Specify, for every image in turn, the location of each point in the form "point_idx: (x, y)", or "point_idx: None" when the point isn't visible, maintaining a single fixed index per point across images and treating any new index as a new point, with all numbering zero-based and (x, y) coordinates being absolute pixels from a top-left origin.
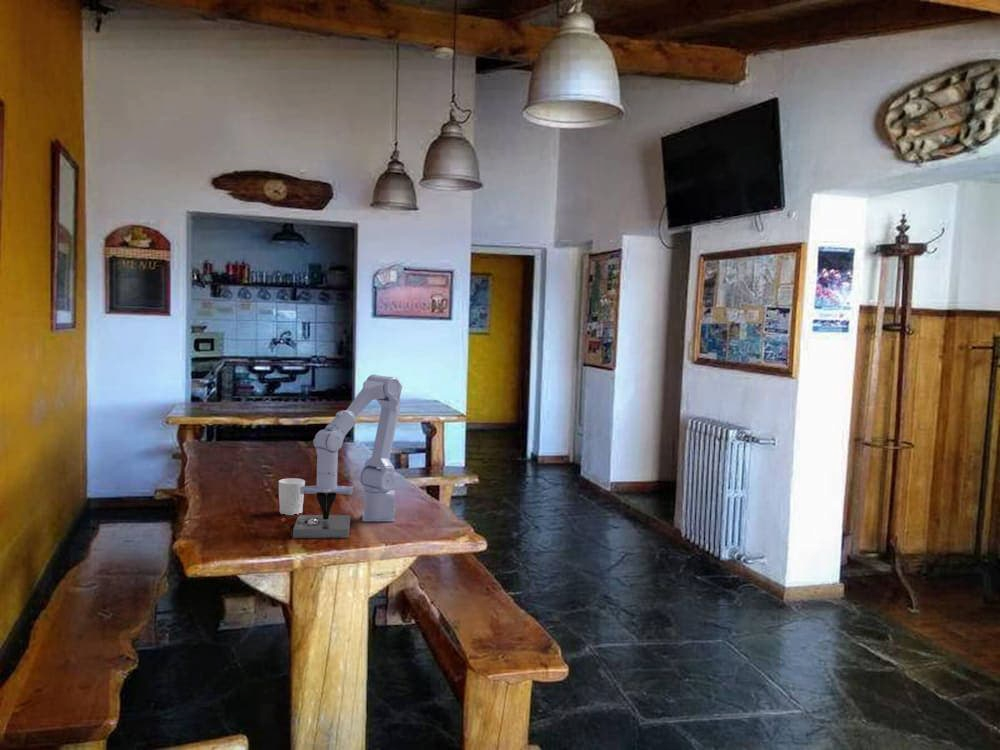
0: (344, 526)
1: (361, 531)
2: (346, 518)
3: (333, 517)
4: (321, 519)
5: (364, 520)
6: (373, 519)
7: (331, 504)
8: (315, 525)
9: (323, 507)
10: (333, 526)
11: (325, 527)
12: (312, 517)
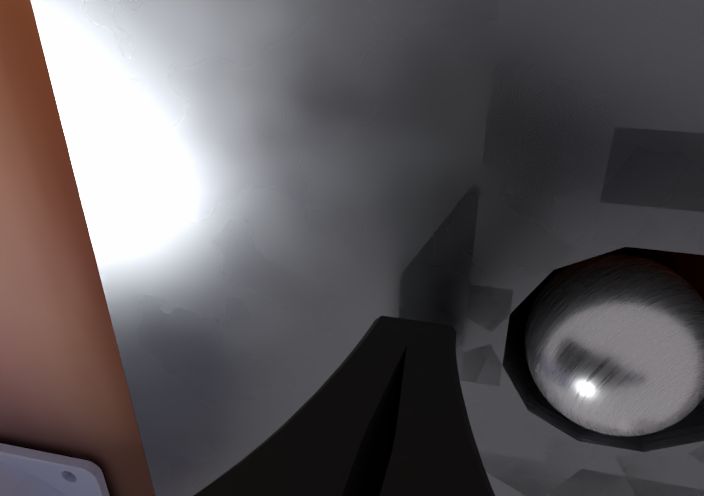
0: (109, 60)
1: (21, 177)
2: (173, 420)
3: None
4: (483, 440)
5: (77, 465)
6: (4, 465)
7: (215, 488)
8: (603, 159)
9: (427, 470)
10: (282, 71)
11: (420, 13)
12: None
